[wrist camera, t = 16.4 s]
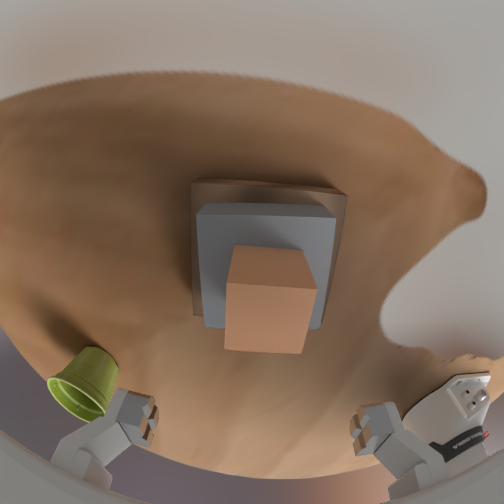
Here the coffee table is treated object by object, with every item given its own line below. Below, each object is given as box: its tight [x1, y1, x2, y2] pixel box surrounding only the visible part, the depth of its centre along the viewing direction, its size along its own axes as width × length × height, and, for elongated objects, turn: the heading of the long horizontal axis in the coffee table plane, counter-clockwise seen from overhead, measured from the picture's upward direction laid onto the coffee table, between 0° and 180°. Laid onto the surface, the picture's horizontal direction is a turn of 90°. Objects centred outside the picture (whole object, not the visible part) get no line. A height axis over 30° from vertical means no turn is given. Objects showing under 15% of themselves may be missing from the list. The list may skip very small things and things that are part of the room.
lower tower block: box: [190, 178, 347, 323], centre depth 24 cm, size 12×12×4 cm
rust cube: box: [224, 245, 317, 354], centre depth 16 cm, size 4×4×5 cm
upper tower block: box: [196, 203, 336, 330], centre depth 20 cm, size 9×9×4 cm
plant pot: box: [47, 346, 119, 423], centre depth 28 cm, size 9×9×9 cm
